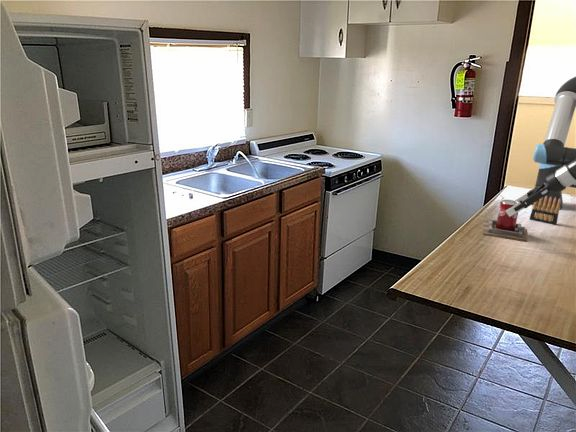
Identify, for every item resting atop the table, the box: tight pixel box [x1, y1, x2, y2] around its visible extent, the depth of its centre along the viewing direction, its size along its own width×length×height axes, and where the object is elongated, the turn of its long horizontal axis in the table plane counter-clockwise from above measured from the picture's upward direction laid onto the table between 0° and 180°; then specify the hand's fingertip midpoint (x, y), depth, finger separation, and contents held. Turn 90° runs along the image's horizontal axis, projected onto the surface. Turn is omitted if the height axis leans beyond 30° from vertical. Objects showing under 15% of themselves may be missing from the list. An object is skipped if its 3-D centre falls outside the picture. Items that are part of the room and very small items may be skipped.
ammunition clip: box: [528, 196, 561, 226], centre depth 209 cm, size 11×2×12 cm, turn 54°
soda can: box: [496, 199, 519, 231], centre depth 194 cm, size 7×7×12 cm
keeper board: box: [482, 218, 528, 243], centre depth 197 cm, size 16×16×2 cm
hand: (510, 209), depth 193 cm, fingers open, 13 cm apart
